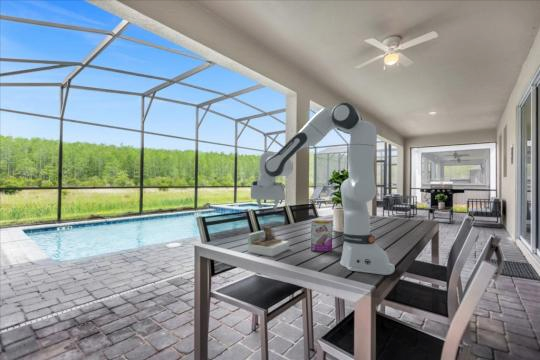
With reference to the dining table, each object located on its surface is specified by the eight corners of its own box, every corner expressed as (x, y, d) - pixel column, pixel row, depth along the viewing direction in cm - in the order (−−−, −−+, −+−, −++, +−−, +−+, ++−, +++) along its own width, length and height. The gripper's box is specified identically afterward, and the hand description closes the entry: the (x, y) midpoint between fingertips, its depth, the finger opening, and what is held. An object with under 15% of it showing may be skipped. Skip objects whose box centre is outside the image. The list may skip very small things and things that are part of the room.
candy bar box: (311, 251, 139) (311, 220, 139) (310, 248, 144) (310, 219, 144) (332, 252, 138) (332, 220, 138) (331, 249, 143) (331, 219, 143)
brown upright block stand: (281, 241, 144) (281, 225, 144) (266, 246, 132) (266, 229, 132) (268, 239, 149) (268, 224, 149) (252, 244, 138) (252, 227, 138)
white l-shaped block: (288, 248, 143) (288, 232, 143) (272, 256, 129) (272, 238, 129) (265, 245, 152) (265, 229, 152) (247, 251, 137) (248, 234, 137)
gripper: (287, 182, 138) (287, 208, 138) (255, 182, 149) (255, 206, 149) (281, 182, 133) (281, 209, 133) (248, 182, 144) (249, 207, 144)
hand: (267, 208), depth 141 cm, fingers open, 8 cm apart
